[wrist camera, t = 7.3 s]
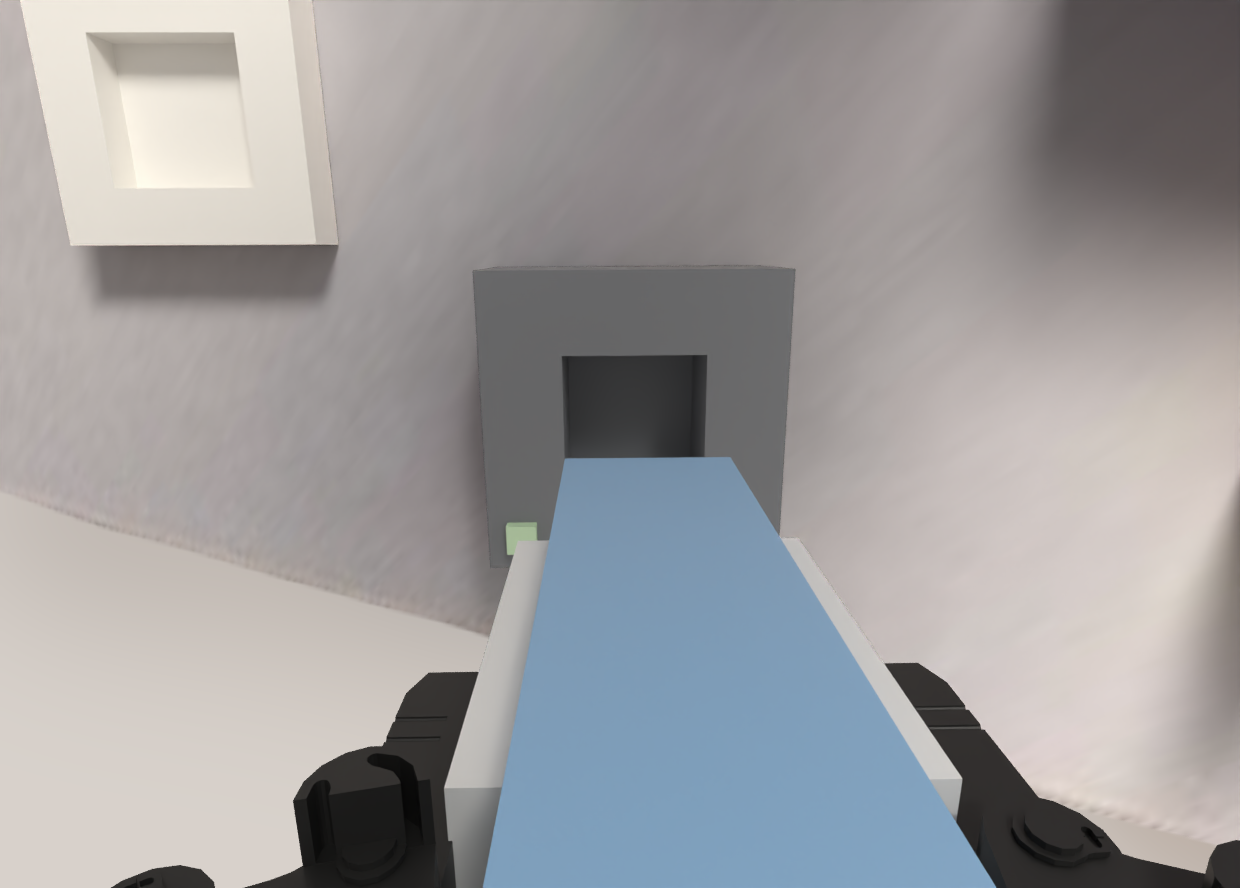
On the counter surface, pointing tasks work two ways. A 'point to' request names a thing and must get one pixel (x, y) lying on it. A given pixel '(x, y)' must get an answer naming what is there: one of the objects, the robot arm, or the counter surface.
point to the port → (627, 378)
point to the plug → (701, 709)
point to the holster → (184, 120)
